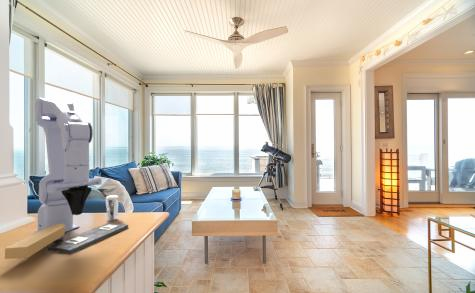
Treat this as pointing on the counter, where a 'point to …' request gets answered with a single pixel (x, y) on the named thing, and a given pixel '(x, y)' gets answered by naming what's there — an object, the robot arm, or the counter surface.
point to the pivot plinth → (58, 240)
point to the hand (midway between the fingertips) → (76, 214)
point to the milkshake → (112, 207)
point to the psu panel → (86, 238)
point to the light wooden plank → (34, 242)
